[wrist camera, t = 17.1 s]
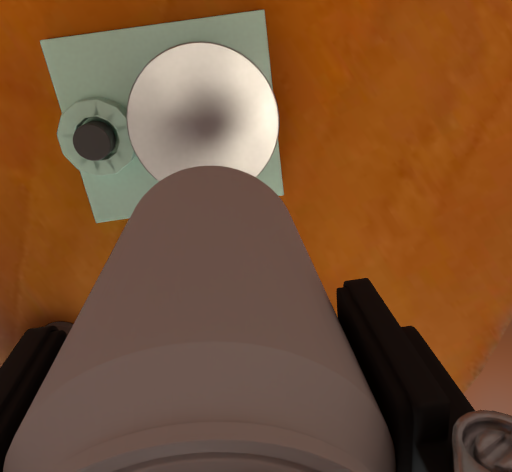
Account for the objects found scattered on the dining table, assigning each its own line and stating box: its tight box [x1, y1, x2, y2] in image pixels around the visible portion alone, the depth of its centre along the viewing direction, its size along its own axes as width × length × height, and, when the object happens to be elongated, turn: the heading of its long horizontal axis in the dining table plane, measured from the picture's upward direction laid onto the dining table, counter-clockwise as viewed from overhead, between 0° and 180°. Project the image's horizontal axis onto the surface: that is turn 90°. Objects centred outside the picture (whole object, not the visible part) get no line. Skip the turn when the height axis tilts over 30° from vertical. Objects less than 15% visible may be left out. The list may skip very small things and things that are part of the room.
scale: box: [40, 10, 284, 223], centre depth 32 cm, size 16×14×3 cm
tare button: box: [73, 121, 116, 161], centre depth 30 cm, size 3×3×2 cm
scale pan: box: [126, 41, 279, 181], centre depth 30 cm, size 11×11×1 cm
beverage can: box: [3, 166, 396, 472], centre depth 11 cm, size 6×6×12 cm
